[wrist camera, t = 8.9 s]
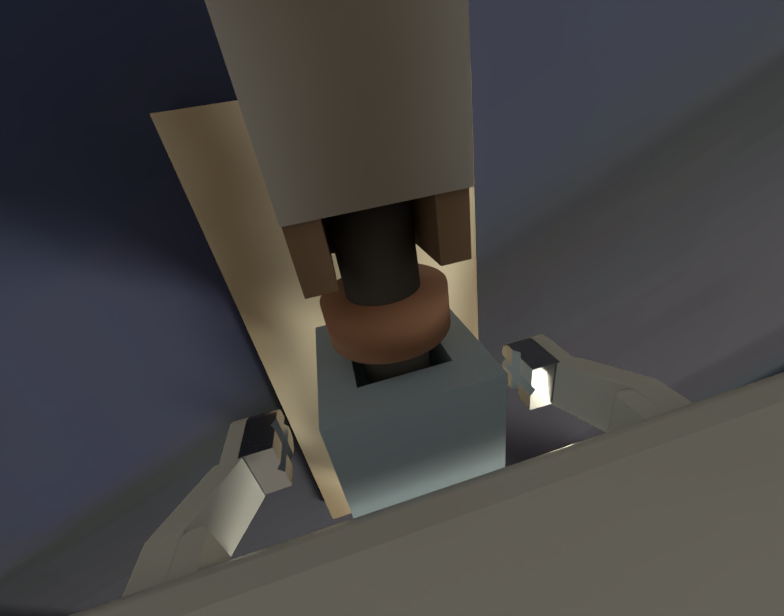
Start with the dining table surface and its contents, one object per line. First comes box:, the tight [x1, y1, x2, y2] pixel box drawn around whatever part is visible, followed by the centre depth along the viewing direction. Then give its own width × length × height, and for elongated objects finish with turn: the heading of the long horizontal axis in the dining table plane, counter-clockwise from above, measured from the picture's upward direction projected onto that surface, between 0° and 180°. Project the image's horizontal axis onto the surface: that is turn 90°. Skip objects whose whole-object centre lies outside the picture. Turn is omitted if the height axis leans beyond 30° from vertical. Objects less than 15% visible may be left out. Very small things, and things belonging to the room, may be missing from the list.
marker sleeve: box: [315, 309, 508, 518], centre depth 10 cm, size 5×5×5 cm
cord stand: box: [150, 0, 478, 519], centre depth 15 cm, size 12×26×10 cm, turn 9°
